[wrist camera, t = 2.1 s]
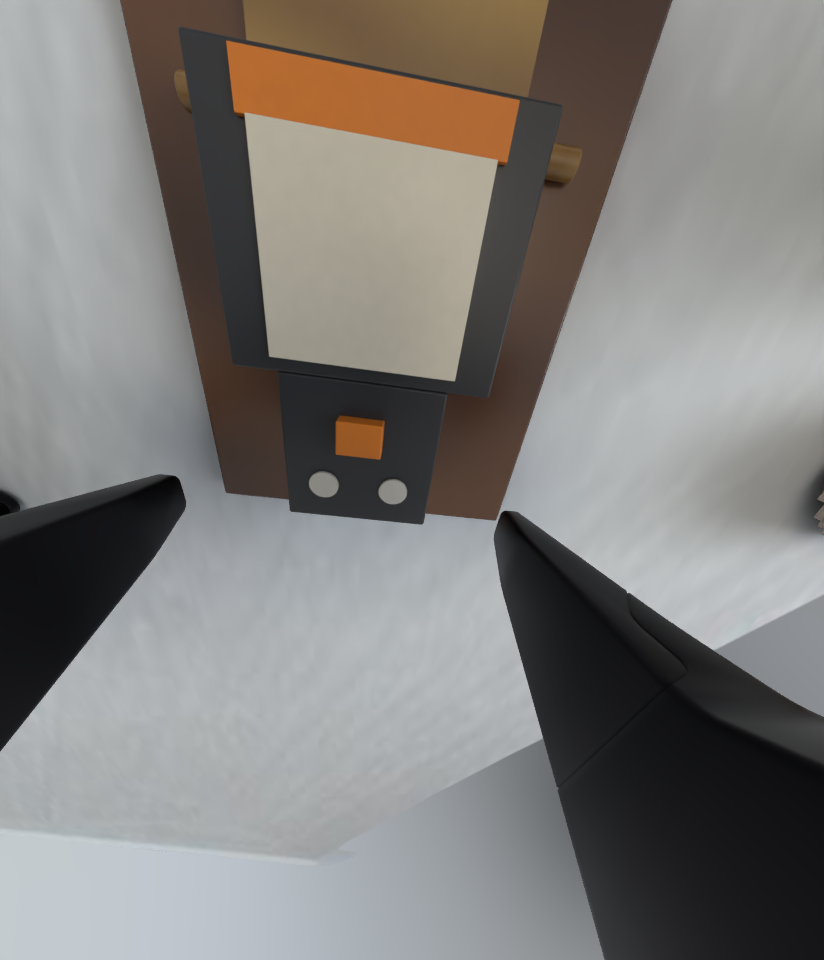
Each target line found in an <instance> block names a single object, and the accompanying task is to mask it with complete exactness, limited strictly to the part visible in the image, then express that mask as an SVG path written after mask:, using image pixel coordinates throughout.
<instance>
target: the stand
mask: <svg viewBox="0 0 824 960" xmlns="http://www.w3.org/2000/svg"><path fill="white" fill-rule="evenodd" d="M120 2H121V6H122V11H123V16H124V20H125V25H126V30H127V34H128V39H129V44H130V48H131V53H132V58H133V62H134V67H135V72H136V76H137V81H138V85H139V90H140V95H141V99H142V104H143V109H144V113H145V118H146V123H147V127H148V132H149V137H150V141H151V146H152V151H153V155H154V160H155V165H156V169H157V174H158V179H159V183H160V188H161V193H162V197H163V202H164V207H165V211H166V216H167V221H168V225H169V230H170V235H171V239H172V244H173V248H174V253H175V258H176V262H177V267H178V272H179V276H180V281H181V286H182V290H183V295H184V300H185V304H186V309H187V314H188V318H189V323H190V328H191V332H192V337H193V342H194V346H195V351H196V356H197V360H198V365H199V370H200V374H201V379H202V384H203V388H204V393H205V398H206V402H207V407H208V411H209V416H210V421H211V425H212V430H213V435H214V439H215V444H216V449H217V453H218V458H219V463H220V467H221V472H222V477H223V481H224V486H225V491H226V493H231V494H241V495H251V496H261V497H271V498H280V499H289V494H288V483H287V472H286V461H285V450H284V439H283V428H282V417H281V406H280V395H279V384H278V372H279V371H275V370H267V369H259V368H252V367H244V366H237V365H233V364H232V360H231V354H230V348H229V341H228V335H227V329H226V323H225V317H224V310H223V304H222V298H221V292H220V286H219V279H218V273H217V267H216V261H215V255H214V248H213V242H212V236H211V230H210V224H209V217H208V211H207V205H206V199H205V193H204V186H203V180H202V174H201V168H200V162H199V155H198V149H197V143H196V137H195V131H194V124H193V118H192V112H191V106H190V100H189V93H188V87H187V81H186V75H185V69H184V62H183V56H182V50H181V44H180V38H179V31H178V29H179V27H186V28H191V29H196V30H200V31H205V32H210V33H215V34H220V35H225V36H230V37H235V38H240V39H245V40H249V41H254V42H259V43H264V44H269V45H274V46H279V47H284V48H289V49H293V50H298V51H303V52H308V53H313V54H318V55H323V56H328V57H333V58H337V59H342V60H347V61H352V62H357V63H362V64H367V65H372V66H377V67H382V68H386V69H391V70H396V71H401V72H406V73H411V74H416V75H421V76H426V77H430V78H435V79H440V80H445V81H450V82H455V83H460V84H465V85H470V86H474V87H479V88H484V89H489V90H494V91H499V92H504V93H509V94H514V95H519V96H523V97H528V98H533V99H538V100H543V101H548V102H553V103H558V104H562V105H563V111H562V115H561V119H560V123H559V127H558V131H557V135H556V139H555V142H554V146H553V150H552V154H551V158H550V162H549V166H548V170H547V173H546V177H545V181H544V185H543V189H542V193H541V197H540V201H539V205H538V208H537V212H536V216H535V220H534V224H533V228H532V232H531V236H530V240H529V243H528V247H527V251H526V255H525V259H524V263H523V267H522V271H521V274H520V278H519V282H518V286H517V290H516V294H515V298H514V302H513V306H512V309H511V313H510V317H509V321H508V325H507V329H506V333H505V337H504V341H503V344H502V348H501V352H500V356H499V360H498V364H497V368H496V372H495V375H494V379H493V383H492V387H491V391H490V395H489V397H488V398H481V397H473V396H465V395H458V394H450V393H447V401H446V406H445V412H444V417H443V422H442V428H441V433H440V438H439V444H438V449H437V454H436V460H435V465H434V470H433V476H432V481H431V486H430V491H429V497H428V502H427V507H426V513H427V514H437V515H446V516H456V517H466V518H476V519H485V520H496V519H497V516H498V513H499V510H500V508H501V505H502V502H503V499H504V496H505V493H506V490H507V487H508V484H509V481H510V478H511V475H512V472H513V469H514V466H515V463H516V460H517V457H518V454H519V451H520V449H521V446H522V443H523V440H524V437H525V434H526V431H527V428H528V425H529V422H530V419H531V416H532V413H533V410H534V407H535V404H536V401H537V398H538V395H539V392H540V390H541V387H542V384H543V381H544V378H545V375H546V372H547V369H548V366H549V363H550V360H551V357H552V354H553V351H554V348H555V345H556V342H557V339H558V336H559V333H560V331H561V328H562V325H563V322H564V319H565V316H566V313H567V310H568V307H569V304H570V301H571V298H572V295H573V292H574V289H575V286H576V283H577V280H578V277H579V274H580V272H581V269H582V266H583V263H584V260H585V257H586V254H587V251H588V248H589V245H590V242H591V239H592V236H593V233H594V230H595V227H596V224H597V221H598V218H599V216H600V213H601V210H602V207H603V204H604V201H605V198H606V195H607V192H608V189H609V186H610V183H611V180H612V177H613V174H614V171H615V168H616V165H617V162H618V159H619V157H620V154H621V151H622V148H623V145H624V142H625V139H626V136H627V133H628V130H629V127H630V124H631V121H632V118H633V115H634V112H635V109H636V106H637V103H638V100H639V98H640V95H641V92H642V89H643V86H644V83H645V80H646V77H647V74H648V71H649V68H650V65H651V62H652V59H653V56H654V53H655V50H656V47H657V44H658V41H659V39H660V36H661V33H662V30H663V27H664V24H665V21H666V18H667V15H668V12H669V9H670V6H671V3H672V0H120Z"/></svg>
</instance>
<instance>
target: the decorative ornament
mask: <svg viewBox="0 0 824 960" xmlns="http://www.w3.org/2000/svg"><path fill="white" fill-rule="evenodd" d="M817 500H820V501H822V502H824V491H823V492H822V494H821V495H820V496H819V497H818V499H817ZM814 518H816V519H818V520H820V521H821V522H820V523H819V524H818V525H817V526H819V527H821V528H823V529H824V505H823V506H822V507H821V509H820V510H819V511H818V512H817V514H816V515H815V516H814ZM821 534H822V535H824V530H823V532H822V533H821Z"/></svg>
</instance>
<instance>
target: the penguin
mask: <svg viewBox="0 0 824 960" xmlns="http://www.w3.org/2000/svg"><path fill="white" fill-rule="evenodd" d="M178 31H179V38H180V44H181V50H182V56H183V62H184V69H185V75H186V81H187V87H188V93H189V100H190V106H191V112H192V118H193V124H194V131H195V137H196V143H197V149H198V155H199V162H200V168H201V174H202V180H203V186H204V193H205V199H206V205H207V211H208V217H209V224H210V230H211V236H212V242H213V248H214V255H215V261H216V267H217V273H218V279H219V286H220V292H221V298H222V304H223V310H224V317H225V323H226V329H227V335H228V341H229V348H230V354H231V360H232V364H233V365H237V366H244V367H252V368H259V369H267V370H275V371H279V372H278V384H279V395H280V406H281V417H282V428H283V439H284V450H285V461H286V472H287V483H288V494H289V505H290V511H291V512H301V513H311V514H321V515H331V516H341V517H351V518H361V519H371V520H381V521H391V522H401V523H411V524H421V525H422V524H423V523H424V518H425V513H426V507H427V502H428V497H429V491H430V486H431V481H432V476H433V470H434V465H435V460H436V454H437V449H438V444H439V438H440V433H441V428H442V422H443V417H444V412H445V406H446V401H447V393H450V394H458V395H465V396H473V397H481V398H488V397H489V395H490V391H491V387H492V383H493V379H494V375H495V372H496V368H497V364H498V360H499V356H500V352H501V348H502V344H503V341H504V337H505V333H506V329H507V325H508V321H509V317H510V313H511V309H512V306H513V302H514V298H515V294H516V290H517V286H518V282H519V278H520V274H521V271H522V267H523V263H524V259H525V255H526V251H527V247H528V243H529V240H530V236H531V232H532V228H533V224H534V220H535V216H536V212H537V208H538V205H539V201H540V197H541V193H542V189H543V185H544V181H545V177H546V173H547V170H548V166H549V162H550V158H551V154H552V150H553V146H554V142H555V139H556V135H557V131H558V127H559V123H560V119H561V115H562V111H563V105H562V104H558V103H553V102H548V101H543V100H538V99H533V98H528V97H523V96H519V95H514V94H509V93H504V92H499V91H494V90H489V89H484V88H479V87H474V86H470V85H465V84H460V83H455V82H450V81H445V80H440V79H435V78H430V77H426V76H421V75H416V74H411V73H406V72H401V71H396V70H391V69H386V68H382V67H377V66H372V65H367V64H362V63H357V62H352V61H347V60H342V59H337V58H333V57H328V56H323V55H318V54H313V53H308V52H303V51H298V50H293V49H289V48H284V47H279V46H274V45H269V44H264V43H259V42H254V41H249V40H245V39H240V38H235V37H230V36H225V35H220V34H215V33H210V32H205V31H200V30H196V29H191V28H186V27H179V29H178Z"/></svg>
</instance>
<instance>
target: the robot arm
mask: <svg viewBox="0 0 824 960" xmlns="http://www.w3.org/2000/svg"><path fill="white" fill-rule="evenodd" d="M185 507H186V499H185V496H184V493H183V489H182V486H181V483H180V480H179V479H178V478H177V477H176V476H171V475H162V474H159V475H154V476H150V477H147V478H143V479H139V480H135V481H132V482H128V483H124V484H120V485H116V486H113V487H109V488H105V489H101V490H98V491H94V492H90V493H86V494H83V495H79V496H75V497H71V498H68V499H64V500H60V501H56V502H53V503H49V504H45V505H41V506H37V507H34V508H30V509H26V510H22V511H19V510H20V506H19V504H18V502H17V501H15V500H14V499H13V498H11V497H9V496H7V495H4V494H2V493H0V751H1V750H2V749H3V747H4V746H5V745H6V744H7V742H8V741H9V740H10V739H11V737H12V736H13V735H14V734H15V732H16V731H17V730H18V729H19V727H20V726H21V725H22V724H23V722H24V721H25V720H26V719H27V717H28V716H29V715H30V713H31V712H32V711H33V710H34V708H35V707H36V706H37V705H38V703H39V702H40V701H41V700H42V698H43V697H44V696H45V695H46V693H47V692H48V691H49V690H50V688H51V687H52V686H53V684H54V683H55V682H56V681H57V679H58V678H59V677H60V676H61V674H62V673H63V672H64V671H65V669H66V668H67V667H68V666H69V664H70V663H71V662H72V661H73V659H74V658H75V657H76V656H77V654H78V653H79V652H80V650H81V649H82V648H83V647H84V645H85V644H86V643H87V642H88V640H89V639H90V638H91V637H92V635H93V634H94V633H95V632H96V630H97V629H98V628H99V627H100V625H101V624H102V623H103V621H104V620H105V619H106V618H107V616H108V615H109V614H110V613H111V611H112V610H113V609H114V608H115V606H116V605H117V604H118V603H119V601H120V600H121V599H122V598H123V596H124V595H125V594H126V593H127V591H128V590H129V589H130V587H131V586H132V585H133V584H134V582H135V581H136V580H137V579H138V577H139V576H140V575H141V574H142V572H143V571H144V570H145V569H146V567H147V566H148V565H149V563H150V562H151V561H152V559H153V558H154V557H155V555H156V554H157V552H158V551H159V549H160V548H161V546H162V545H163V543H164V542H165V540H166V539H167V537H168V535H169V534H170V532H171V531H172V529H173V528H174V526H175V524H176V523H177V521H178V520H179V518H180V517H181V515H182V513H183V512H184V510H185ZM494 544H495V550H496V557H497V563H498V569H499V576H500V582H501V587H502V591H503V595H504V599H505V602H506V606H507V609H508V613H509V617H510V620H511V624H512V627H513V631H514V635H515V638H516V642H517V645H518V649H519V653H520V656H521V660H522V663H523V667H524V671H525V674H526V678H527V681H528V685H529V689H530V692H531V696H532V699H533V703H534V707H535V710H536V714H537V717H538V721H539V725H540V728H541V732H542V735H543V739H544V742H545V746H546V750H547V753H548V757H549V760H550V764H551V768H552V771H553V775H554V778H555V782H556V786H557V787H558V794H559V797H560V801H561V804H562V808H563V812H564V815H565V819H566V823H567V826H568V830H569V833H570V836H571V840H572V844H573V848H574V851H575V855H576V859H577V862H578V865H579V869H580V873H581V876H582V880H583V884H584V887H585V891H586V894H587V898H588V902H589V905H590V909H591V912H592V916H593V920H594V923H595V927H596V930H597V934H598V938H599V941H600V945H601V948H602V952H603V956H604V959H605V960H824V717H823V716H820V715H818V714H816V713H814V712H812V711H809V710H807V709H806V708H804V707H802V706H800V705H798V704H796V703H794V702H793V701H791V700H789V699H788V698H786V697H784V696H783V695H781V694H779V693H778V692H776V691H775V690H773V689H772V688H770V687H768V686H767V685H765V684H764V683H762V682H761V681H759V680H758V679H756V678H755V677H753V676H752V675H750V674H749V673H747V672H745V671H744V670H742V669H741V668H739V667H738V666H736V665H735V664H733V663H732V662H730V661H729V660H727V659H726V658H724V657H722V656H721V655H719V654H718V653H716V652H715V651H713V650H712V649H710V648H709V647H707V646H706V645H704V644H703V643H701V642H700V641H698V640H697V639H695V638H694V637H692V636H691V635H689V634H688V633H686V632H685V631H683V630H682V629H680V628H679V627H677V626H676V625H674V624H673V623H671V622H670V621H668V620H667V619H665V618H664V617H662V616H661V615H660V614H658V613H657V612H655V611H654V610H653V609H651V608H650V607H648V606H647V605H645V604H644V603H643V602H641V601H640V600H639V599H637V598H636V597H634V596H633V595H632V594H630V593H627V591H626V590H625V589H623V588H622V587H620V586H619V585H618V584H616V583H615V582H614V581H612V580H611V579H609V578H608V577H607V576H605V575H604V574H602V573H601V572H600V571H598V570H597V569H596V568H594V567H593V566H591V565H590V564H589V563H587V562H586V561H584V560H583V559H582V558H580V557H579V556H578V555H576V554H575V553H573V552H572V551H571V550H569V549H568V548H566V547H565V546H564V545H562V544H561V543H560V542H558V541H557V540H555V539H554V538H553V537H551V536H550V535H549V534H547V533H546V532H544V531H543V530H542V529H540V528H539V527H537V526H536V525H535V524H533V523H532V522H531V521H529V520H528V519H526V518H525V517H524V516H522V515H521V514H519V513H518V512H514V511H503V512H502V513H501V515H500V518H499V521H498V524H497V527H496V530H495V533H494Z"/></svg>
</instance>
